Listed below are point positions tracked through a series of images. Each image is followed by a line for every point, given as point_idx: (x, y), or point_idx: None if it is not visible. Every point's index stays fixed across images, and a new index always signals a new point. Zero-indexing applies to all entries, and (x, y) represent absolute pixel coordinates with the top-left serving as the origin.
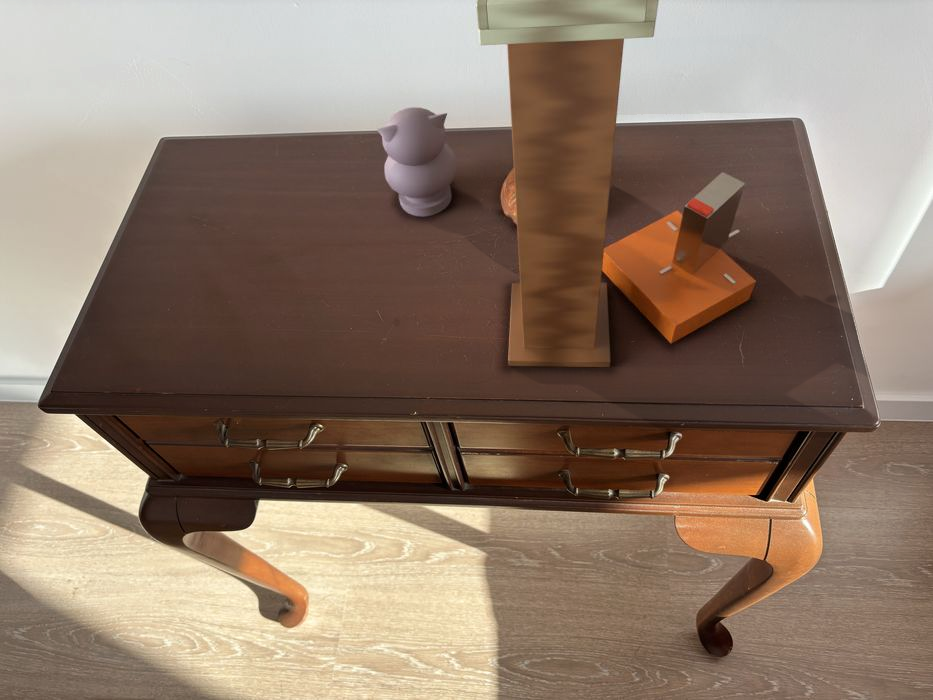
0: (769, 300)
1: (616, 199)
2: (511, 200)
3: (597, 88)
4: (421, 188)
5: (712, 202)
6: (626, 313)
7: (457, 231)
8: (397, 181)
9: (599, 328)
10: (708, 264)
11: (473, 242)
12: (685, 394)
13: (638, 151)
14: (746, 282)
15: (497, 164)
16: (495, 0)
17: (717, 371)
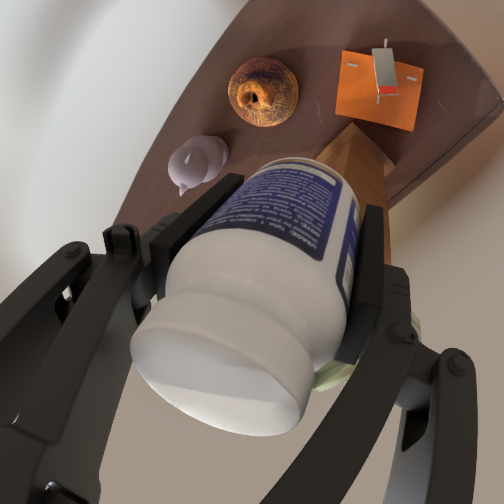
0: (429, 61)
1: (294, 57)
2: (256, 123)
3: None
4: (218, 171)
5: (389, 79)
6: (375, 127)
7: (249, 154)
8: (206, 181)
9: (375, 152)
10: None
11: (264, 153)
12: (437, 151)
13: (265, 15)
14: (420, 74)
15: (214, 98)
16: (321, 389)
17: (441, 127)
